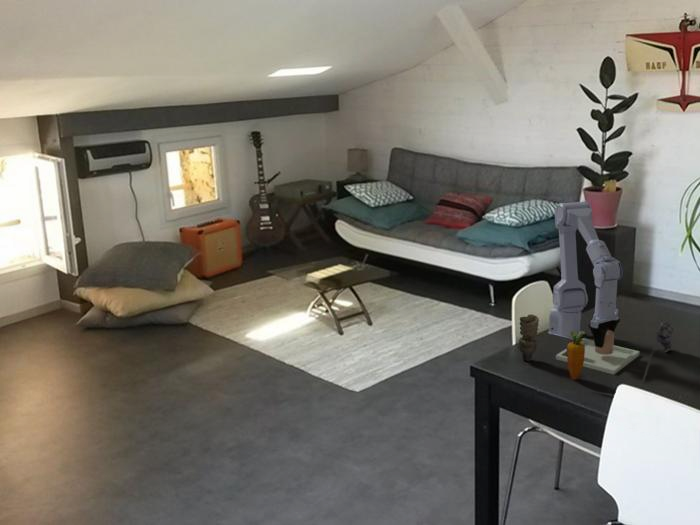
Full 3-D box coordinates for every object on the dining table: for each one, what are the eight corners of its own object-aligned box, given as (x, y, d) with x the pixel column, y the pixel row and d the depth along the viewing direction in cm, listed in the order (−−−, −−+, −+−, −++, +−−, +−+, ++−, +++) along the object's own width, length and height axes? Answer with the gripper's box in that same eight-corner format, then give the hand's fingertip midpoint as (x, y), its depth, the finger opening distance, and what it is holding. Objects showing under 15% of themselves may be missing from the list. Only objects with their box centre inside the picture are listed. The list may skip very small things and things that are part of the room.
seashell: (675, 354, 219) (677, 323, 217) (656, 354, 220) (658, 323, 218) (671, 348, 224) (673, 317, 222) (652, 347, 225) (655, 317, 223)
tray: (555, 360, 218) (555, 355, 218) (582, 343, 231) (583, 337, 230) (613, 376, 206) (614, 370, 206) (639, 356, 219) (639, 351, 218)
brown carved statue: (538, 359, 219) (539, 312, 215) (536, 366, 214) (538, 319, 210) (519, 357, 221) (520, 311, 217) (517, 364, 216) (518, 317, 212)
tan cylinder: (592, 352, 217) (593, 333, 215) (598, 346, 221) (599, 328, 219) (609, 355, 214) (611, 337, 212) (615, 350, 218) (616, 331, 216)
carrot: (562, 377, 206) (565, 328, 202) (579, 376, 207) (582, 327, 203) (569, 385, 202) (571, 335, 198) (586, 384, 202) (589, 333, 198)
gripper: (608, 309, 206) (605, 354, 209) (629, 297, 216) (626, 339, 220) (584, 305, 211) (582, 348, 214) (606, 292, 221) (603, 334, 224)
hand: (603, 343), depth 217 cm, fingers closed on tan cylinder, 5 cm apart
